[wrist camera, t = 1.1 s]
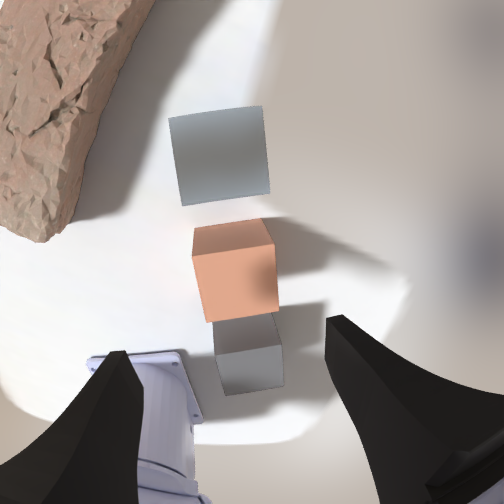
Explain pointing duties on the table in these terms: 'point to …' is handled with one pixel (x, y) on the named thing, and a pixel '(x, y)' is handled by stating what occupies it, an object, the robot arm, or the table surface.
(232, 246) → the terracotta block
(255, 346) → the gray block
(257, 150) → the slate block
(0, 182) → the brick
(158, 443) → the robot arm
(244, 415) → the table surface
